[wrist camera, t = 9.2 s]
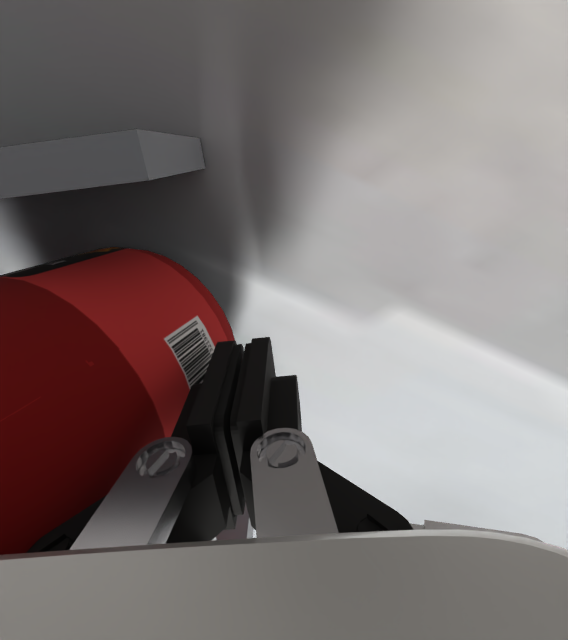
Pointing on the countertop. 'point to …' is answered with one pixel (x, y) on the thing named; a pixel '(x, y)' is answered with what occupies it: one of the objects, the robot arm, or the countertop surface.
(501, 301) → the countertop surface
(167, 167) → the box
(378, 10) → the countertop surface
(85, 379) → the canned food
